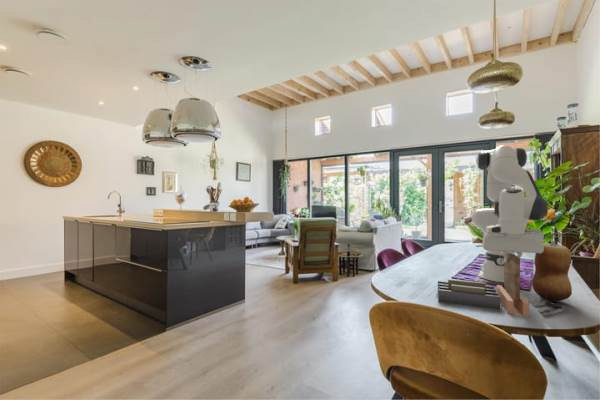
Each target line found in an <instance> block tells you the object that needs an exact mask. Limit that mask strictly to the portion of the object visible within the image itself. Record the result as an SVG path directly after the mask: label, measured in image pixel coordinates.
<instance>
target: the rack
mask: <svg viewBox="0 0 600 400" xmlns="http://www.w3.org/2000/svg"><path fill="white" fill-rule="evenodd" d="M437 297H438V300H437V301H438V303H442V304H443V303H444V304H451V305H459V306H467V307H474V308H482V309H490V310H497V311H501V307H502V304H501V297H500V296H498V293H497V289H495V287H494V286H491V285H486V291H485V294H478V293H469V292H461V291H452V290H451V287H448V281H444V280H437Z"/></svg>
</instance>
